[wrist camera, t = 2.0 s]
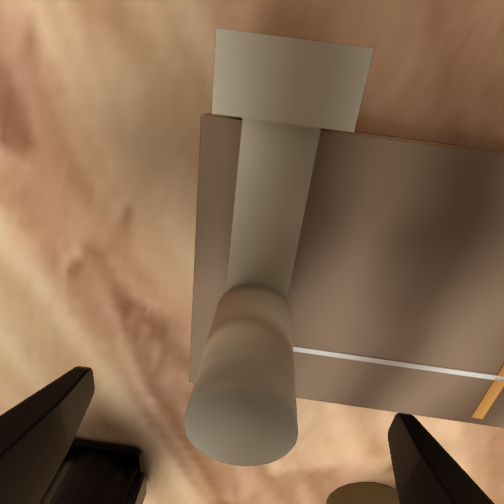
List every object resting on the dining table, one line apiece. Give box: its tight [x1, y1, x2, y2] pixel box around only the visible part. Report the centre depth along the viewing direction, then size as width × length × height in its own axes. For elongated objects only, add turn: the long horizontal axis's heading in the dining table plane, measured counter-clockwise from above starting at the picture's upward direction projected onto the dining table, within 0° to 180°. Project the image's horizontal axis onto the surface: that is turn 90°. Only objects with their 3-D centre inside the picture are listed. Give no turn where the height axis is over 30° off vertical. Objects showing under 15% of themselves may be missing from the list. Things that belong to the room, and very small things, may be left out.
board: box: [189, 113, 504, 428], centre depth 16 cm, size 20×14×2 cm
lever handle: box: [184, 28, 374, 466], centre depth 11 cm, size 4×13×9 cm, turn 173°
